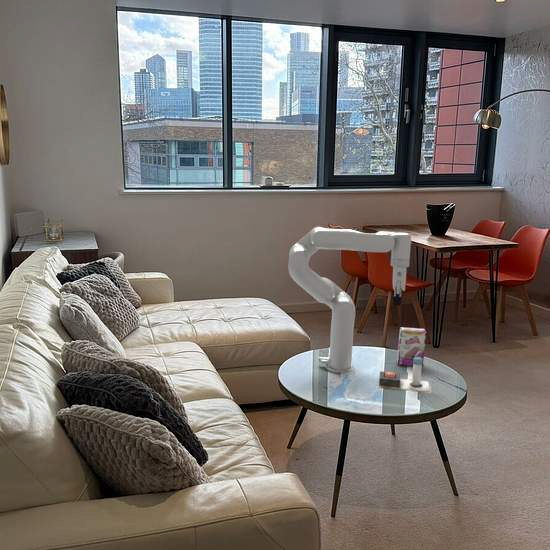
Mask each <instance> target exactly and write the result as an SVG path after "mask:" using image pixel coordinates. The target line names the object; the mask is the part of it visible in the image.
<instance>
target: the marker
mask: <svg viewBox="0 0 550 550" xmlns="http://www.w3.org/2000/svg"><path fill="white" fill-rule="evenodd" d="M422 360H423V359H422V358H420V357H414V361H413V363H414V365H413V366H412V367H413V368H412V378H411V380H412V385H413V386H420V380H421V378H422V368H423V367H422ZM423 361H424V360H423ZM421 381H422V380H421Z"/></svg>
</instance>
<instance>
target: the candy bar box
mask: <svg viewBox="0 0 550 550" xmlns="http://www.w3.org/2000/svg"><path fill="white" fill-rule="evenodd" d="M398 335H399V336H398V344H397V345H398V346H397V354H396V355H397V357H396V363H397V365H398V366H406V367H407V366H409V367H413V365H414V363H413V361H414V357H420V358H422V359H423V360H422V368H423V366H424V360H425V359H424V356H425V350H426V348H425V347H426V339H427V338H426V337H427V331H426V329H425V328H415V327H403V326H402V327H399V334H398Z"/></svg>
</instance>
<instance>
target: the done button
mask: <svg viewBox="0 0 550 550" xmlns="http://www.w3.org/2000/svg"><path fill="white" fill-rule="evenodd" d="M384 372H385V377H386V378H395V373H396V372H393V371H384Z"/></svg>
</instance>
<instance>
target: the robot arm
mask: <svg viewBox="0 0 550 550" xmlns="http://www.w3.org/2000/svg"><path fill="white" fill-rule="evenodd" d="M411 244H412V235H411V234H410V233H408V232H401V231H398V232H391V231H385V230H381V231H380V230H379V231H377V232H375V233H367V232H361V231H358V230H353V229H346V228H345V229H344V228H342V229H341V228H326V227H322V226H316V227H313V228H311V230H310V231H309V232H307V233H306V234H305V235H304V236H303V237H301V238H300V239H299V240H298V241H297V242H296V243H295V244H293V245H292V247H290V249H289V253H288V254H289V255H288V264H287V267H288V273H289V276H290V277H291V278H292V280H293V281H294V282H295V283H296V284H297V285H298V286H299V287H300V288H302V289H303V291H305V292H306V293H308V294H309V295H310V296H312V297H313V298H314V300H316V301H317V302H318V303H320V304H325V305H326V306H328V307H329V308H330V309H331V323H330V341H329V342H330V345H329V356H326V357H324V356H319V357H318V362H320V364H325V369H326V370H327V371H328V372H332V373H336V374H342V372H343V373H344V372H351V371H353V370H355V369H356V367H355V365H354V364H353V363H352V359H353V343H354V327H355V317H356V306H355V303H354V301H353V300H352V298H351V295H349V294H348V293H347V292H345V291H344V290H343V289H342V288H341V287H340V286H338V285H337V284H336V283H335V282H334V281H332V280H331V279H330V278H327V277H325V276H324V277H323V276H322V277H321V276H320V275H319V274H317V272H315V271H314V270H313V269H311V268H310V266H309V262H310V258H311V257H312V256H313V255H314V254H315V253H317V252H318V251H319V250H336V251H337V250H341V251H343V250H344V251H353V252H354V251H355V252H356V251H357V252H366V253H367V252H368V253H388V252H391V255H390V266H391V267H392V289H393V290H394V291H393V292H394V293H393V297H392V298H393V299H392V306H396V307H397V306H398V307H400V306H401V305H402V291H403V292H405V291H406V284H407V283H406V280H407V268H409V267H410V260H411V259H410V258H411V256H410V255H411V246H412V245H411Z"/></svg>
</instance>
